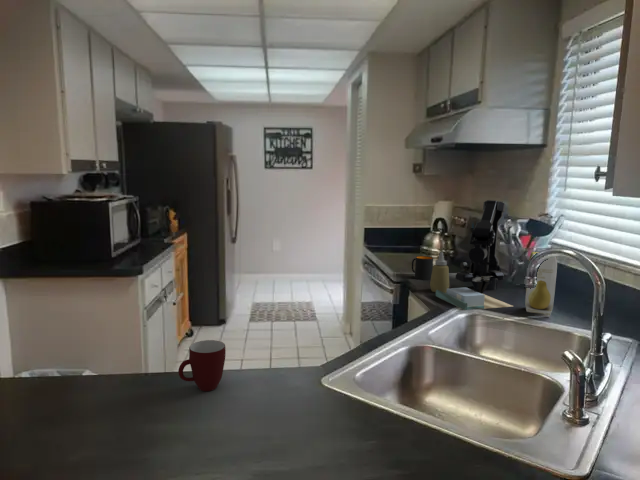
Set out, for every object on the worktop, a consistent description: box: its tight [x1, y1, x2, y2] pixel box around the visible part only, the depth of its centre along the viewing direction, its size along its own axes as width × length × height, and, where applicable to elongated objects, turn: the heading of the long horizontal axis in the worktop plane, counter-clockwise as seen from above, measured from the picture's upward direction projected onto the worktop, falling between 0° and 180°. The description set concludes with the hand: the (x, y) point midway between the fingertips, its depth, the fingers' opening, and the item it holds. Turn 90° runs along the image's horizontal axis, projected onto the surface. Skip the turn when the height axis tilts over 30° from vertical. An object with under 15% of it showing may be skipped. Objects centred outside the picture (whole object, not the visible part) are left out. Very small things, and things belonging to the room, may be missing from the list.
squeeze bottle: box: [429, 251, 450, 293], centre depth 197 cm, size 8×8×18 cm
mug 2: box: [411, 255, 434, 281], centre depth 229 cm, size 8×12×10 cm
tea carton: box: [446, 287, 486, 306], centre depth 183 cm, size 9×12×4 cm
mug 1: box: [177, 339, 227, 392], centre depth 106 cm, size 10×8×10 cm
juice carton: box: [524, 251, 558, 318], centre depth 171 cm, size 9×8×24 cm
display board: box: [435, 290, 514, 311], centre depth 184 cm, size 22×20×4 cm
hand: (478, 297), depth 184 cm, fingers closed
